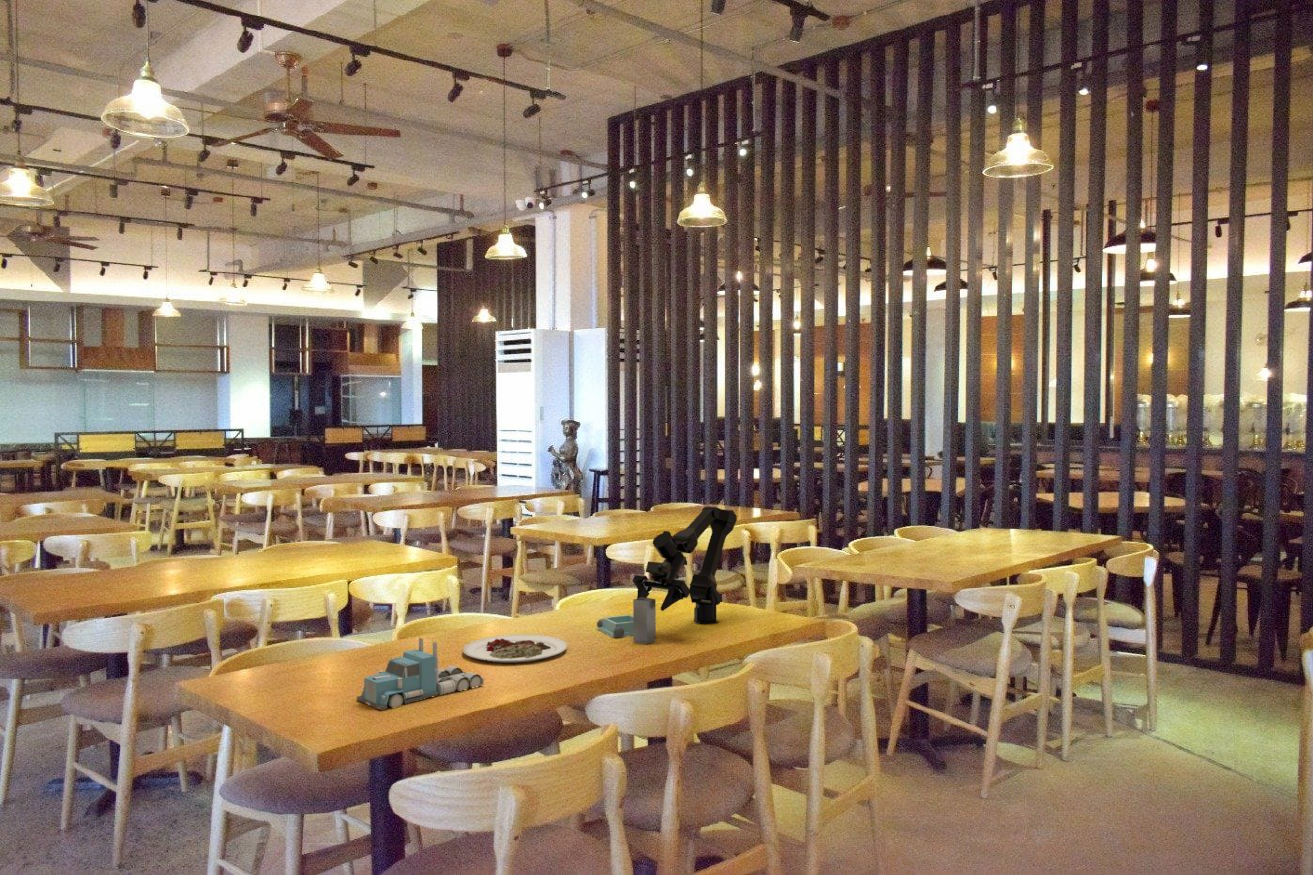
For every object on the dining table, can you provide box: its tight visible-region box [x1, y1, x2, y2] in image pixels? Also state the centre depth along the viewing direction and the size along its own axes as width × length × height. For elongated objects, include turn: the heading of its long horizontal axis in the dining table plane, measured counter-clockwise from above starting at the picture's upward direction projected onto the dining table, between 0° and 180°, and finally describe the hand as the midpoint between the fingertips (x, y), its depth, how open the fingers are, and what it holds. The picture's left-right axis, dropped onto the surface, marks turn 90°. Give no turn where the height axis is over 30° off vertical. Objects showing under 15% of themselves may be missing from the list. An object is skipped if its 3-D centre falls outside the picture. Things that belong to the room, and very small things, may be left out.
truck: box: [356, 637, 485, 711], centre depth 238 cm, size 12×29×15 cm, turn 135°
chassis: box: [596, 614, 633, 639], centre depth 303 cm, size 12×14×4 cm
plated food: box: [462, 634, 568, 664], centre depth 279 cm, size 30×30×3 cm
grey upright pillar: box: [632, 597, 657, 646], centre depth 290 cm, size 4×5×13 cm
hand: (649, 608), depth 291 cm, fingers open, 9 cm apart
